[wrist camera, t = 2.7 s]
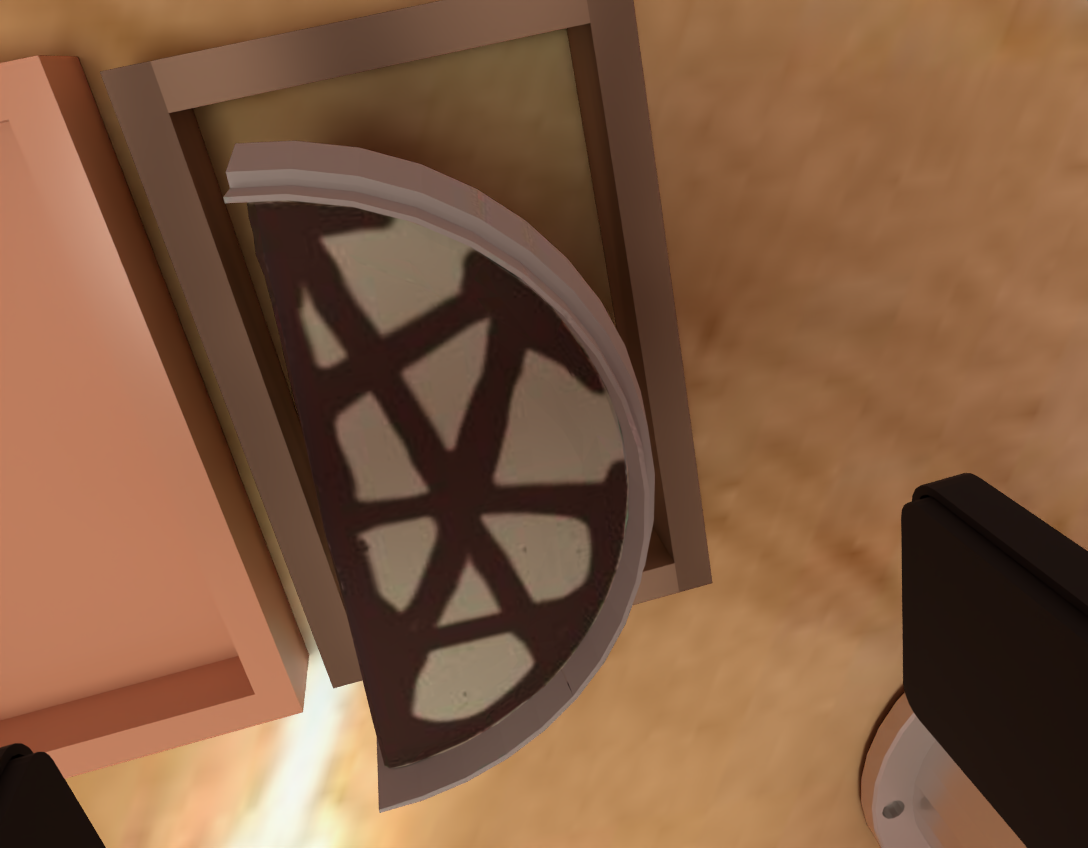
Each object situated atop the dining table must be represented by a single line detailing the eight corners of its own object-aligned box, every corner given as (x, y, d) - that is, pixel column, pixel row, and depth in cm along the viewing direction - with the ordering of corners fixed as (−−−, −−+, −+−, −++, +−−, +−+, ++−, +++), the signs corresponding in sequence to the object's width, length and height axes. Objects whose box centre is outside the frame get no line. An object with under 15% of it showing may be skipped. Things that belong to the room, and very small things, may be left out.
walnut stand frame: (599, -27, 20) (628, -39, 18) (683, 539, 27) (712, 582, 25) (132, 71, 19) (99, 71, 17) (336, 633, 26) (333, 688, 24)
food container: (584, 519, 26) (697, 762, 17) (380, 558, 25) (385, 834, 16) (538, 84, 21) (663, 97, 12) (283, 116, 20) (211, 155, 11)
